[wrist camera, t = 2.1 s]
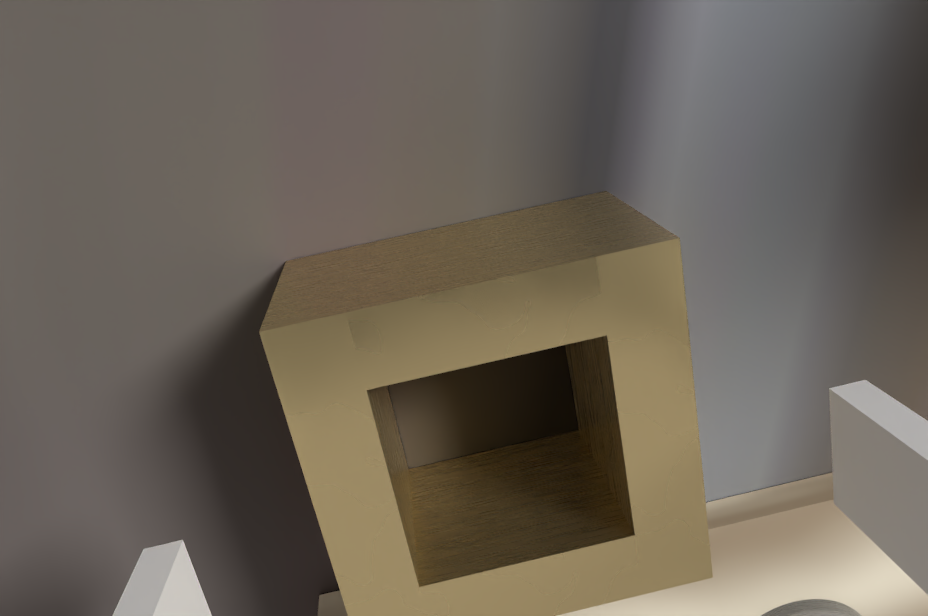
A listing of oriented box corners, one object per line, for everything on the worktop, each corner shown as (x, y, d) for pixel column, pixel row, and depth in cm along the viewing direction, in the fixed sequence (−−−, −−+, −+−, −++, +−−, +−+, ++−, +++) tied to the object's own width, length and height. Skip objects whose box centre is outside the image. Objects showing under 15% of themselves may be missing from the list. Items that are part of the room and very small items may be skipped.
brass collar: (285, 261, 19) (258, 331, 15) (606, 191, 20) (679, 237, 15) (364, 531, 22) (362, 663, 18) (641, 466, 23) (712, 577, 18)
